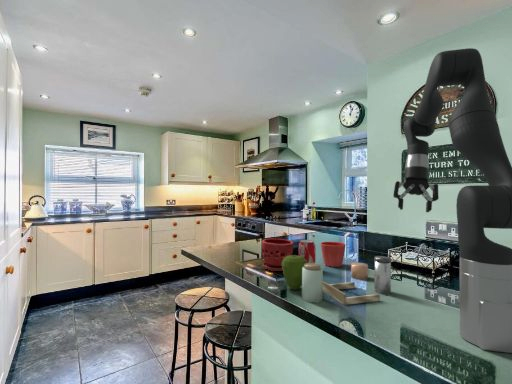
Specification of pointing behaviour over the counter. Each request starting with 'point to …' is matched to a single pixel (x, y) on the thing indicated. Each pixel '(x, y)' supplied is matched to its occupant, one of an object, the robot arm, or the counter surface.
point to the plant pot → (275, 253)
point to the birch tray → (341, 297)
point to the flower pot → (333, 253)
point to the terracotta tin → (359, 271)
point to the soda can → (307, 250)
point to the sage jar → (312, 282)
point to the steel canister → (382, 275)
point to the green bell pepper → (293, 270)
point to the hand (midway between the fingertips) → (414, 210)
